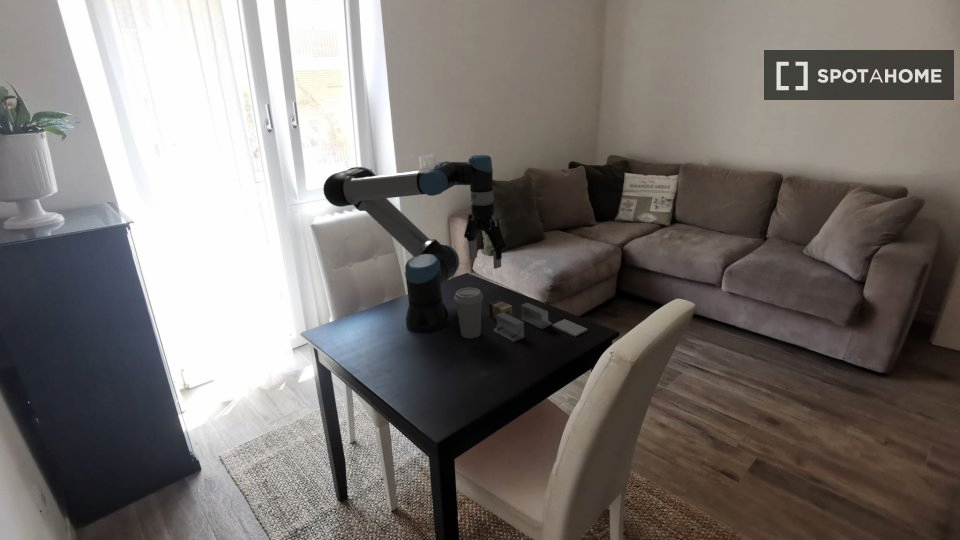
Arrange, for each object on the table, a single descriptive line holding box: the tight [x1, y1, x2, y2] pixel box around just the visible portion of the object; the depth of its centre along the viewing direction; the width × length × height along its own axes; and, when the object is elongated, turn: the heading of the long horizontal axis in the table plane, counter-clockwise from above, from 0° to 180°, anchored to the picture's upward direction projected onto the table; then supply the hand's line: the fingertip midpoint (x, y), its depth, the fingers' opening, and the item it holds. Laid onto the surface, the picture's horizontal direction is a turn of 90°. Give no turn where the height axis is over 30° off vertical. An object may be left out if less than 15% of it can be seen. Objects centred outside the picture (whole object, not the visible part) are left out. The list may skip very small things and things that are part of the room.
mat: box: [551, 318, 588, 338], centre depth 162 cm, size 10×6×1 cm, turn 38°
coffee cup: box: [453, 287, 484, 339], centre depth 160 cm, size 10×10×15 cm
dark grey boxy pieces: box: [493, 302, 552, 343], centre depth 164 cm, size 10×17×6 cm, turn 128°
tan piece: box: [488, 299, 515, 321], centre depth 171 cm, size 9×5×5 cm, turn 38°
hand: (485, 262), depth 171 cm, fingers open, 13 cm apart
